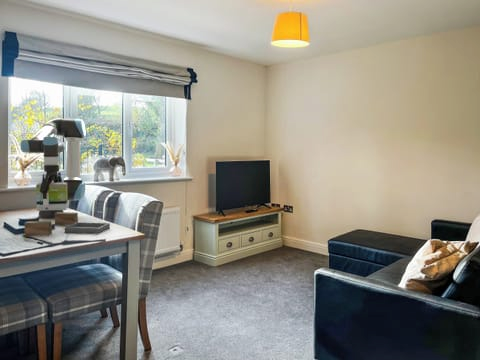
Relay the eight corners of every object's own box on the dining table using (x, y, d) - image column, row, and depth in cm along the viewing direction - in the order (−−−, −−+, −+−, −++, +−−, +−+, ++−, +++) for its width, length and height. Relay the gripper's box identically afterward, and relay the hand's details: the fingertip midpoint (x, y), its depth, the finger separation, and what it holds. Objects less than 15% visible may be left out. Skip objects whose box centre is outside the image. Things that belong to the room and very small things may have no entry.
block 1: (28, 234, 205) (27, 221, 204) (51, 234, 206) (51, 221, 205) (24, 236, 201) (24, 222, 200) (48, 236, 202) (48, 222, 201)
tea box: (36, 211, 209) (35, 184, 207) (38, 208, 218) (37, 182, 217) (66, 210, 214) (66, 183, 213) (68, 207, 224) (67, 181, 222)
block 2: (58, 223, 233) (58, 212, 233) (77, 224, 232) (77, 212, 232) (55, 224, 229) (54, 213, 229) (74, 225, 228) (74, 213, 228)
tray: (77, 227, 223) (77, 222, 223) (109, 228, 222) (109, 223, 221) (64, 232, 209) (64, 227, 209) (98, 233, 208) (98, 228, 207)
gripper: (57, 163, 226) (58, 199, 228) (31, 165, 202) (32, 206, 204) (69, 163, 226) (70, 199, 228) (45, 166, 201) (46, 206, 204)
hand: (52, 202), depth 216 cm, fingers closed on tea box, 12 cm apart
